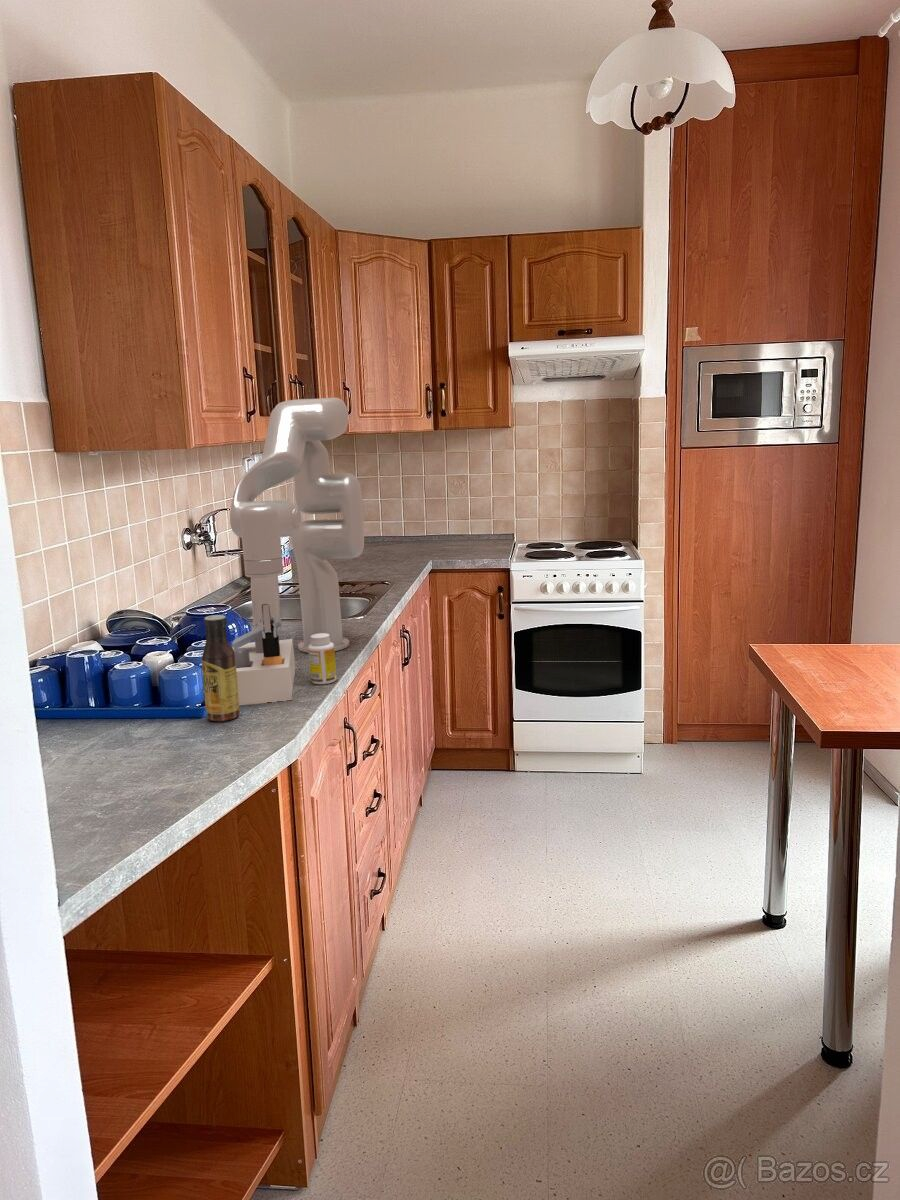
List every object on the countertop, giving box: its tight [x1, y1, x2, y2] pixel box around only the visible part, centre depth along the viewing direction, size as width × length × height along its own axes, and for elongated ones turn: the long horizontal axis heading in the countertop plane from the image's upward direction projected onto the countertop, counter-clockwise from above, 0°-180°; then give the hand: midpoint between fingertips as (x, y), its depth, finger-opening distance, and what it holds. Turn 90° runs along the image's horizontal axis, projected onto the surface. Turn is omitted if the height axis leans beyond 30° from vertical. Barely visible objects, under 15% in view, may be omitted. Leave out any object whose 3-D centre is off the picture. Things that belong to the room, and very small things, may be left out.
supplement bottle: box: [307, 633, 338, 685], centre depth 189 cm, size 6×6×10 cm
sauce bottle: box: [200, 614, 240, 723], centre depth 168 cm, size 7×6×20 cm
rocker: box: [231, 616, 283, 649], centre depth 192 cm, size 6×11×2 cm, turn 98°
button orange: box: [263, 654, 282, 666], centre depth 181 cm, size 4×4×8 cm
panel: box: [232, 636, 296, 706], centre depth 188 cm, size 24×13×10 cm, turn 8°
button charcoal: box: [234, 648, 250, 668], centre depth 180 cm, size 4×4×8 cm
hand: (272, 655), depth 181 cm, fingers closed
